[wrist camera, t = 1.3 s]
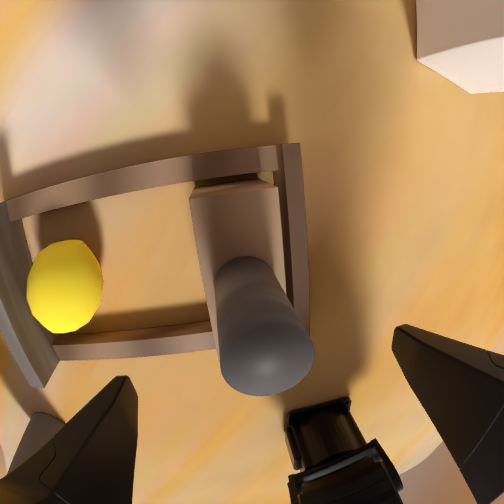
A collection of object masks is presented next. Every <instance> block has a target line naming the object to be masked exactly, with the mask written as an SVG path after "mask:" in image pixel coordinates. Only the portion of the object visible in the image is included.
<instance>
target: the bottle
mask: <svg viewBox="0 0 504 504" xmlns="http://www.w3.org/2000/svg"><path fill="white" fill-rule="evenodd" d="M64 425H65V424H64V423H63V422H61V421H60V420H58V419H56V418H55V417H53V416H51V415H48V414H45V413H35V414H34V415H33V416H32V418H31V420H30V422H29V424H28V426H27V428H26V430H25V432H24V434H23V437H22V439H21V441H20V443H19V446H18V448H17V450H16V453H15V455H14V458H13V460H12V463H11V465H10V468H9V471H8V473H7V474H9V473H10V472H11V471H13V470H14V469H15V468H17V467H18V466H19V465H20V464H22V463H23V462H24V461H26V460H27V459H28V458H29V457H31V456H32V455H33V454H34V453H35V452H37V451H38V450H39V449H40V448H41V447H42V446H43V445H44V444H45V443H46V442H47V441H49V440H50V439H51V438H52V437H53V436H54V435H55V434H56V433H57V432H58V431H59V430H60V429H61V428H62V427H63V426H64Z"/></svg>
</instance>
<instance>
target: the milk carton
mask: <svg viewBox="0 0 504 504" xmlns="http://www.w3.org/2000/svg"><path fill="white" fill-rule="evenodd" d="M416 12H417V61H419V62H420V63H422V64H424V65H425V66H427V67H429V68H431V69H432V70H434V71H436V72H437V73H439V74H441V75H442V76H444V77H445V78H447V79H449V80H450V81H452V82H453V83H455V84H456V85H458V86H459V87H461V88H462V89H464V90H465V91H467V92H468V93H470V94H475V93H487V92H503V91H504V0H416Z"/></svg>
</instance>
